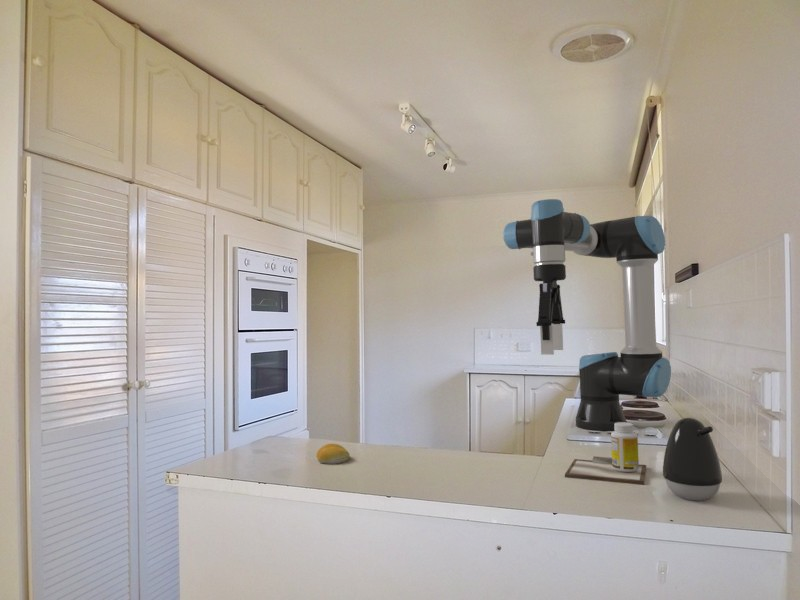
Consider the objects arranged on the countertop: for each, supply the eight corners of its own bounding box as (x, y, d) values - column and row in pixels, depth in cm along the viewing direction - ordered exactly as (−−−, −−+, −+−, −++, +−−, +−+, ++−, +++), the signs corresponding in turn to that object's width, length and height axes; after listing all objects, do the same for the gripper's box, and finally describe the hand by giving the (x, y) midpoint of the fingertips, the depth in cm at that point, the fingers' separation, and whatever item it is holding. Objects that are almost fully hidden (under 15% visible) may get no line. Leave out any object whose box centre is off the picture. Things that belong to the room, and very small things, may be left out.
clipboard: (574, 461, 137) (574, 454, 137) (646, 467, 130) (646, 460, 130) (564, 476, 124) (564, 469, 124) (643, 484, 118) (643, 476, 118)
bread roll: (320, 466, 139) (319, 450, 139) (314, 458, 148) (314, 442, 148) (353, 463, 142) (352, 447, 142) (345, 455, 150) (345, 440, 150)
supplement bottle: (642, 469, 127) (641, 423, 127) (633, 474, 123) (631, 427, 123) (618, 465, 130) (616, 420, 131) (608, 470, 126) (606, 424, 127)
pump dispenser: (692, 508, 103) (688, 424, 103) (652, 491, 113) (649, 415, 113) (736, 502, 105) (733, 420, 106) (694, 486, 115) (691, 411, 116)
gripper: (543, 268, 149) (546, 348, 149) (522, 262, 127) (525, 356, 126) (572, 266, 146) (576, 348, 146) (556, 259, 123) (560, 356, 123)
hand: (552, 352), depth 136 cm, fingers open, 13 cm apart
